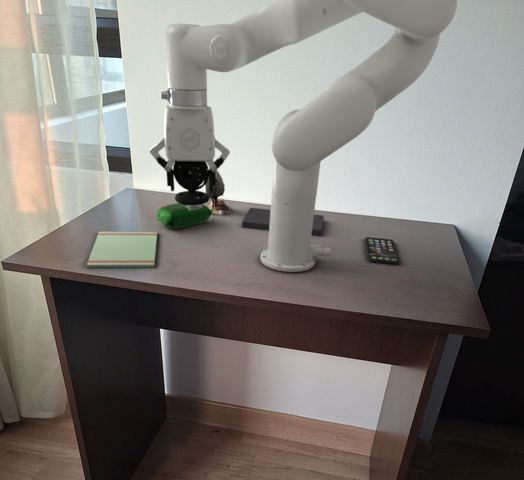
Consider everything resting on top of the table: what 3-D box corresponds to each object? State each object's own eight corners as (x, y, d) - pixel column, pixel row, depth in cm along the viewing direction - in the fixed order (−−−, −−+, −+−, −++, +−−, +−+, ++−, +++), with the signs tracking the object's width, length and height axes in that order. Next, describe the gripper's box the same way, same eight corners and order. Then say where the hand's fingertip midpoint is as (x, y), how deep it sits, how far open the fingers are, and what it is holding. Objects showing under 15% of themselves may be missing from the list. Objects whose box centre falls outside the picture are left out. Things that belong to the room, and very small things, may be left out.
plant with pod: (195, 215, 135) (194, 138, 124) (209, 204, 144) (210, 131, 133) (223, 219, 134) (224, 142, 123) (235, 207, 143) (238, 135, 132)
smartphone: (368, 259, 114) (364, 236, 126) (368, 261, 114) (364, 239, 127) (400, 262, 114) (393, 239, 126) (399, 265, 114) (392, 242, 126)
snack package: (217, 222, 131) (217, 203, 128) (167, 233, 122) (166, 212, 119) (201, 215, 135) (201, 197, 132) (152, 225, 126) (151, 205, 123)
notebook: (242, 227, 129) (321, 235, 127) (242, 221, 128) (322, 230, 126) (249, 212, 140) (323, 220, 138) (250, 207, 139) (324, 215, 137)
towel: (157, 234, 121) (157, 231, 121) (154, 267, 104) (154, 264, 104) (99, 233, 119) (99, 231, 118) (86, 267, 102) (86, 264, 102)
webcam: (169, 204, 104) (166, 155, 98) (180, 194, 110) (177, 148, 105) (205, 207, 103) (203, 157, 98) (213, 197, 109) (212, 150, 104)
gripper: (141, 100, 91) (150, 194, 101) (233, 102, 94) (233, 194, 103) (144, 95, 97) (151, 184, 107) (230, 97, 100) (230, 185, 110)
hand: (191, 189), depth 105 cm, fingers closed on webcam, 7 cm apart
